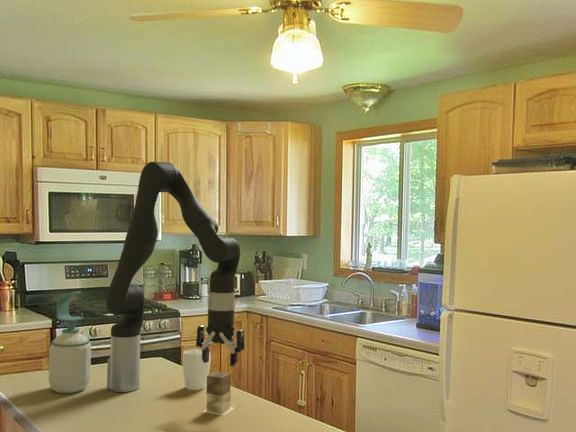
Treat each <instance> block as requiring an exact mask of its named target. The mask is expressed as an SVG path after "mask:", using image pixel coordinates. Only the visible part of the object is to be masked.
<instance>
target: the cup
mask: <svg viewBox="0 0 576 432" xmlns="http://www.w3.org/2000/svg"><path fill="white" fill-rule="evenodd" d="M211 360H212V359H211V351H210V350H209V362H207V363H204V362H203V360H202V348H192V349H191V348H190V349H186V350H184V351H182V361H181V363H182V370H183V371H182V372H183V377H184V378H183V379H184V386H185V389H187V390H189V391H200V390H205V389H207V375H209V373H210V368H211Z"/></svg>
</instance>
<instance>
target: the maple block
mask: <svg viewBox="0 0 576 432" xmlns="http://www.w3.org/2000/svg"><path fill="white" fill-rule="evenodd" d="M231 393H232V392H231V390H230V391H229V392H228V393H226V394H224V395H223V396H221V395H214V394H207V393H206V409H207V411H209V412H215V413H222V414H223V413H224V412H226V411H227V410H228V409H230V407H231Z"/></svg>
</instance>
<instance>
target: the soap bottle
mask: <svg viewBox="0 0 576 432" xmlns="http://www.w3.org/2000/svg"><path fill="white" fill-rule="evenodd" d="M81 293H82V291H81V290H80V291H79V290H78V291H73V292H69V293H65V294H62V295H60V296H58V297H57V299H56V319H57V320H58V321H61V322H62V321H63V322H64V323H65V324H66V325H67V328H63V329H62V330H61V334H60V335H58V336H57V337H55V338H54V339H53V340H52V341H51V342H50V344H51V345H50V346H49V350H48V351H49V353H48V354H49V355H48V382H49V383H48V384H49V387H50V389H52V390H53V391H54V392H55V393H59V394H75V393H78V392H81V391H83V390H84V389H86V388H87V387H88V384H89V382H90V379H91V367H92V365H91V362H92V361H91V358H92V353H91V352H92V344H91V340H90V339H89V338H88V337H87V336H85V335H83V334H81V332H80V328H77V327H75V325H77V324H78V323H77V322H78V321H81V320H83V317H81V316H72V315H70V299H71V297H72V296H75V295H78V294H81ZM65 324H64V325H65Z"/></svg>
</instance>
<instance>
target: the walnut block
mask: <svg viewBox="0 0 576 432" xmlns="http://www.w3.org/2000/svg"><path fill="white" fill-rule="evenodd" d="M231 376H232V374H231V373H228V372H221V371H214V372H211V373H210V374H208V375H207V387H206V395H207V394H214V395H221V396H223V395H224V394H226V393H228V392H229V391H231Z"/></svg>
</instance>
